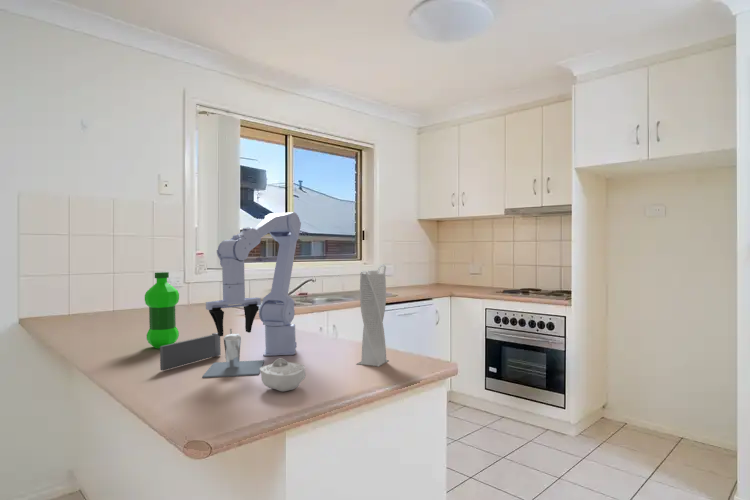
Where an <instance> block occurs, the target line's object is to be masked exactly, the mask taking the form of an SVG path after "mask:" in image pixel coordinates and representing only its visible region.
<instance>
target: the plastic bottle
mask: <svg viewBox="0 0 750 500" xmlns="http://www.w3.org/2000/svg"><path fill="white" fill-rule="evenodd" d="M169 275H170V272H169V271H167V272H166V271H162V272H158V271H157V272H154V279H156V283H155V284H153V285H152V286H151V287H150V288H149V289H148V290H147V291H146V292H145V294H144V304H145V305H146V306H147V307H148V311H149V313H148V314H149V315H148V316H149V317H148V319H149V321H148V322H149V329H148V331H147V333H146V340H147V343H148V344H149V345H151V346H152V347H154V349H160V346H164V345H168V344H173V343H177V340H178V339H179V334H180V332H179V330H178V328H177V326H176V324H177V323H176V305H177V304H178V303H179V300H180V293H179V291H178V289H176V288H175V287H174V286H173V285H172V284H170V283H169V282H168V278H170V277H169Z"/></svg>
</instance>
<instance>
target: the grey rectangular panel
mask: <svg viewBox="0 0 750 500" xmlns="http://www.w3.org/2000/svg"><path fill="white" fill-rule="evenodd" d="M221 349H222V348H221V336H218V332H213V333H211V334H209V335H205V336H201V337H195V338H191V339H187V340H182V341H178V342H177V341H176V342H175V343H173V344H168V345H164V346H160V348H159V358H160V360H159V363H160V364H159V365H160V369H159V370H160V371H168V370H171V369H174V368H178V367H180V366H185V365H188V364H189V365H190V364H192V363H195V362H199V361H203V360H206V359H210V358H215V357H219V356H221V354H222V353H221Z"/></svg>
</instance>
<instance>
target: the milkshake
mask: <svg viewBox="0 0 750 500" xmlns="http://www.w3.org/2000/svg"><path fill="white" fill-rule="evenodd" d="M232 330H233V328H229V334H226V335H225V336H223V344H224V354H225V362H226V365H227V368H229V369H234V368H238V367H239V361H240V360H241V359H240V357H241V355H240V354H241V343H242V336H241V334H240V333H233V331H232Z"/></svg>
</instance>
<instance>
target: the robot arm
mask: <svg viewBox="0 0 750 500" xmlns="http://www.w3.org/2000/svg"><path fill="white" fill-rule="evenodd" d="M263 217H264V218H263V219H262V220H261V221H260V222H259V223H258V224H257V225H255V226H254V227H249V226H244V227H243V228H242V231H240V232H238V233H237V234H233V235H232V237H231V238H230V239H224V240H222V241H221V242H220V243H219V244H218V247H217V250H216V254H217V257H218V259H219V263H220V267H221V271H222V273H221V274H222V275H221V276H222V299H220V300H213V301H206V302H205V310H206V311H208V312H209V314H210V316H211V317H212V320H213V322H214V324H215V328H216V330H217V332H216V333H218V336H220V337H224V316H225V315H224V314H225V311H224V310H222V309H227V308H228V309H229V308H237V307H239V308H240V307H243V311H244V318H245V320H244V322H245V323H244V325H245V326H244V328H245V329H244V330H245V332H246V333H249V334H250V333H252V328H253V323H254V320H255V318H256V315H257V313H258V316H259V319H260V321H261V322H262V325H264V335H265V336H264V337H265V338H264V339H265V340H264V341H265V345H264V346H265V348H264V352H263V357H269V356H270V357H272V356H291V355H296V350H297V340H296V323H292V321H293V320H294V318H295V315H296V314H295V313H296V312H295V300H294V299H293V298H292V297H291V296H290V295H289V289H290V284H291V283H290V282H291V279H292V271H293V266H294V260H295V254H296V248H297V241H298V240H299V239H300V238H299V237H300V232H301V225H302V222H301V219H300V216H299V215H298V214H297V213H296V212H293V211H291V212H280V213H279V212H278V213H273V212H271V213H267V215H264V216H263ZM268 234H269V235H270V236H271V237H272V239H273V240H274V241H275V242H277V243H278V249H277V251H278V252H277V257H276V262H275V268H274V272H273V279H272V284H271V289H270V292H268V293H267V294H266V295H265V296H264V297H263V298H261V297H246V290H245V289H246V285H245V260H247V258H248V257H249V255H250V252H251V251H252V250H253V249H254V248H256V247H257V246H258V245H259V244H260V243H261V241H262V238H263V237H264V236H266V235H268ZM261 299H262V300H261ZM259 306H260V307H259Z"/></svg>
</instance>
